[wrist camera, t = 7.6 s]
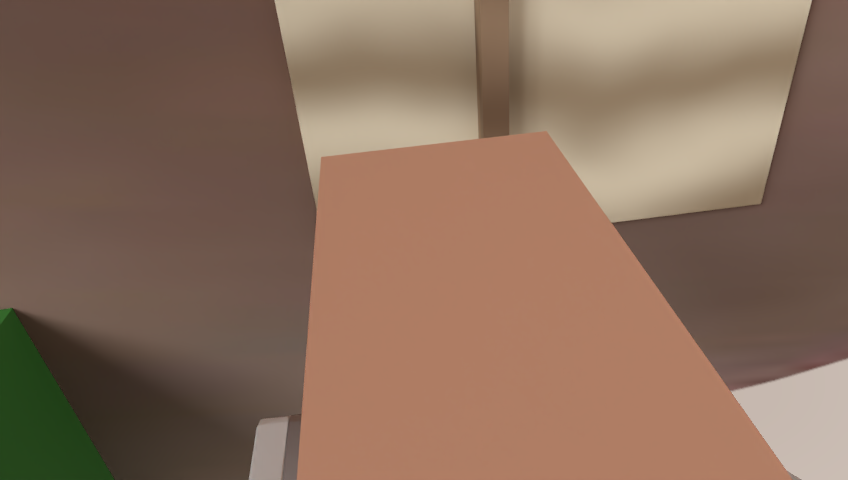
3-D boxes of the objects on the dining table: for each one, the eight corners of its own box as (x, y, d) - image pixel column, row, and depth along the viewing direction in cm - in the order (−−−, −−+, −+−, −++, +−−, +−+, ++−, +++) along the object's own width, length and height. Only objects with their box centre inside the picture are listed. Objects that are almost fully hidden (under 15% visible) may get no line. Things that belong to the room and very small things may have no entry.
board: (257, -100, 21) (250, -95, 19) (835, -157, 22) (876, -157, 20) (326, 248, 28) (325, 274, 27) (751, 195, 29) (775, 217, 28)
